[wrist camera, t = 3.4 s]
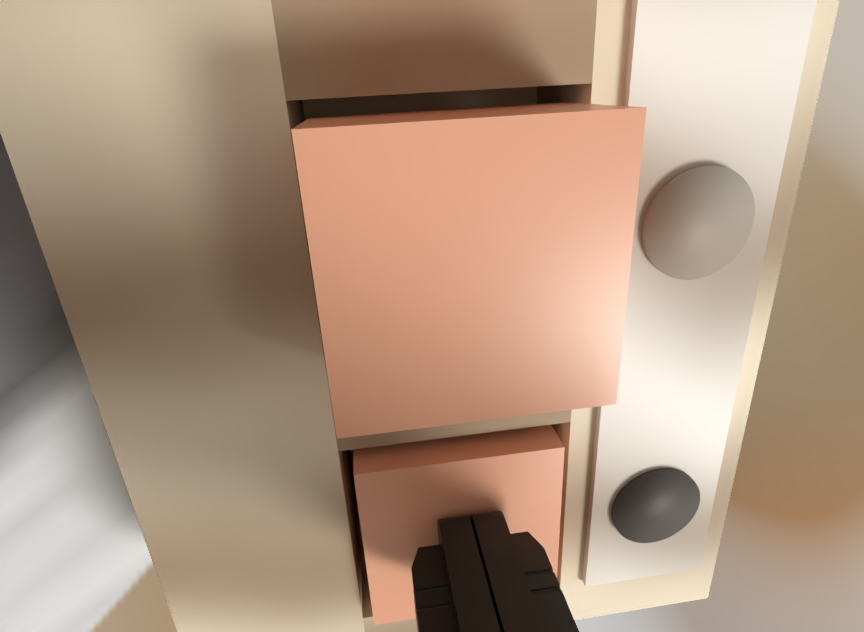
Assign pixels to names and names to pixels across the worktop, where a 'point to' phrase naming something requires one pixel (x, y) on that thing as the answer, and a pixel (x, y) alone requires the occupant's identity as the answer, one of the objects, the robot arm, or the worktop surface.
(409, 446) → the button outer
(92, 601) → the worktop surface
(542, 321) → the button middle
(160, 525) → the button board
